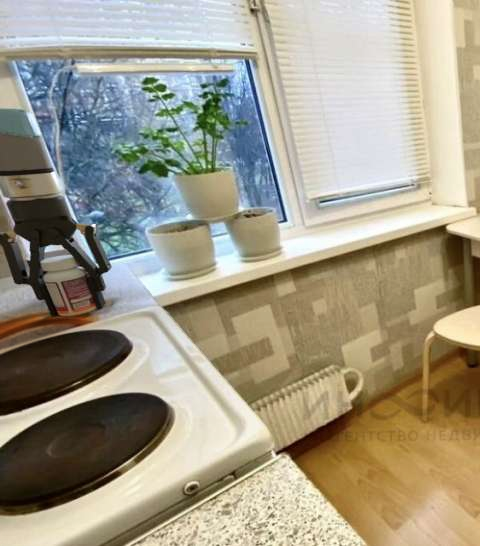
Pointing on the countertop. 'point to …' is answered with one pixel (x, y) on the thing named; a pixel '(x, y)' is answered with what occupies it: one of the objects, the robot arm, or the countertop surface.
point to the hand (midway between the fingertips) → (79, 309)
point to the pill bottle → (68, 285)
